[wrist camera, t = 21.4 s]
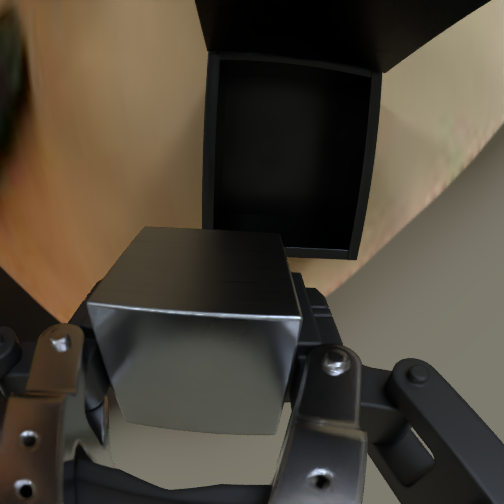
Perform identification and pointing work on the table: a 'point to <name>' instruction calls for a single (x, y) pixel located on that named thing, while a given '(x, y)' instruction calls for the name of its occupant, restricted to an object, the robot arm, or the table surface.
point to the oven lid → (330, 27)
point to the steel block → (199, 329)
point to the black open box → (290, 149)
